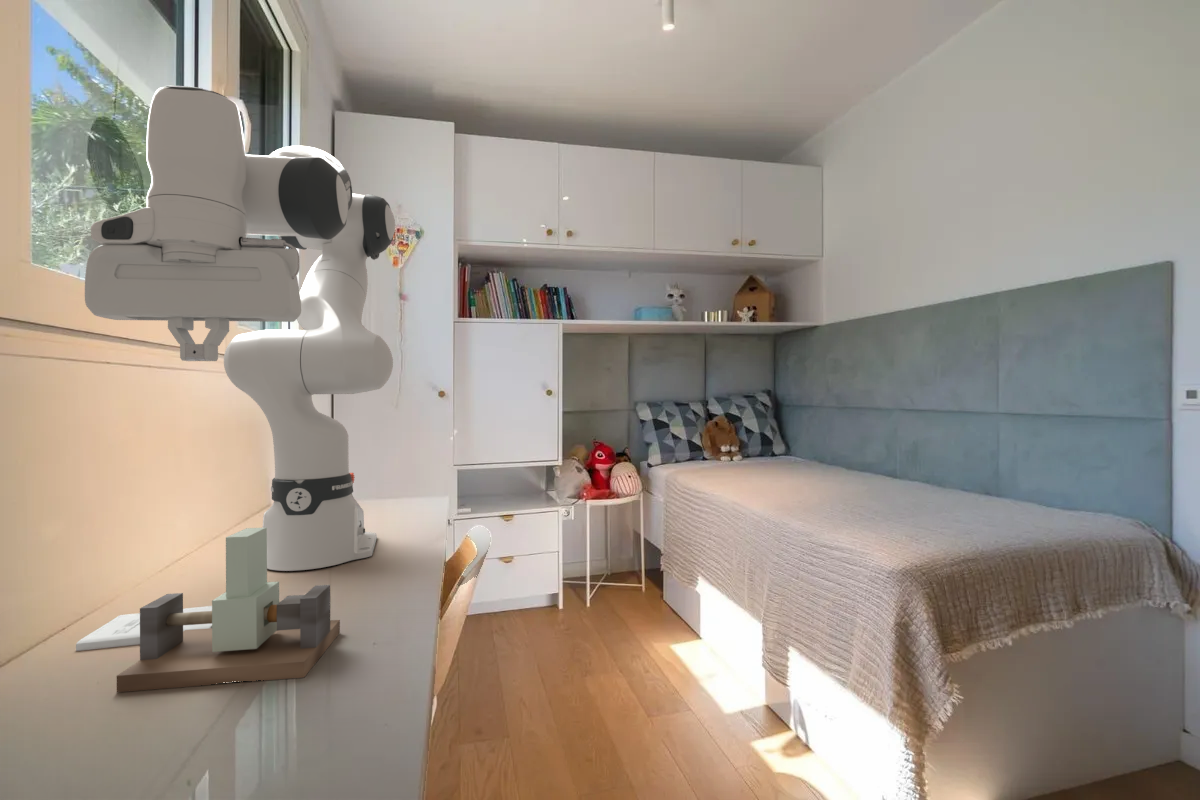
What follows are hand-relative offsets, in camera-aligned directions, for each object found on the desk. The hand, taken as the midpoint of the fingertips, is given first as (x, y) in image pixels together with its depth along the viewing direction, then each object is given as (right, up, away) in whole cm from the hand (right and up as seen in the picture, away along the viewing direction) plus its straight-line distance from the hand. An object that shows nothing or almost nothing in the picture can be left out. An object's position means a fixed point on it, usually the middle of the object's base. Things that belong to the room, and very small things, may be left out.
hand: (199, 361), depth 59 cm
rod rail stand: (+7, -31, -4) cm, 32 cm away
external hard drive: (-7, -32, +4) cm, 33 cm away
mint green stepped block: (+8, -29, -4) cm, 30 cm away
